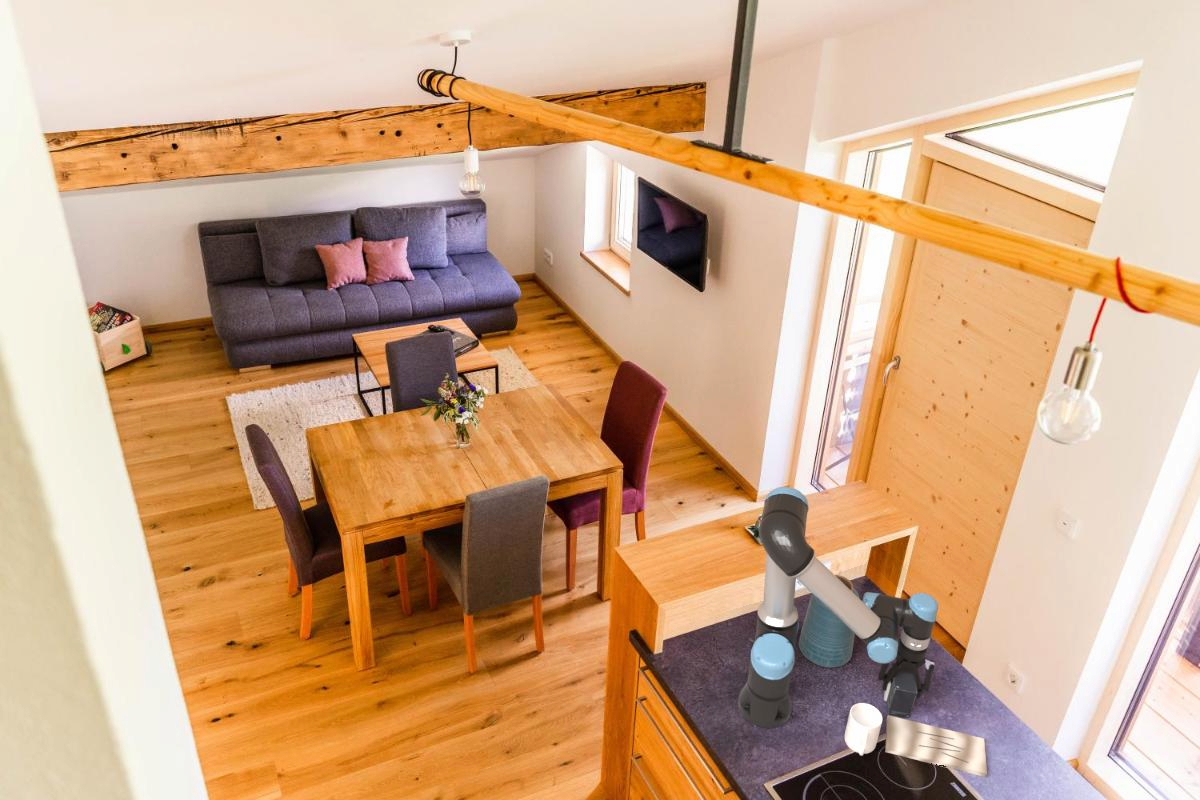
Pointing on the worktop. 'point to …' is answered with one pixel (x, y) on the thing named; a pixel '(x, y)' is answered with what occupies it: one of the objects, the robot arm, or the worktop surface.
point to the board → (935, 745)
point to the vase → (826, 634)
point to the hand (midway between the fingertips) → (898, 700)
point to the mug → (863, 728)
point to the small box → (902, 693)
